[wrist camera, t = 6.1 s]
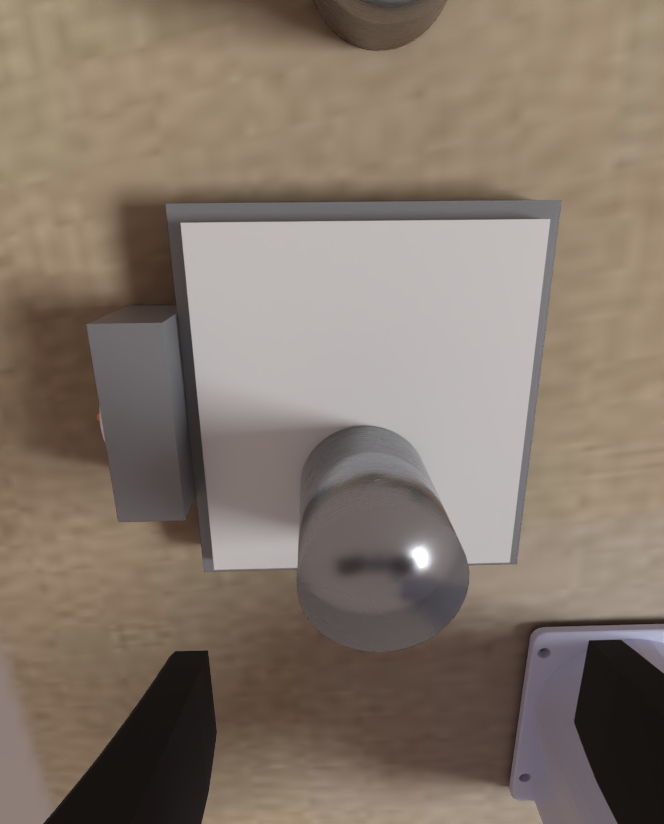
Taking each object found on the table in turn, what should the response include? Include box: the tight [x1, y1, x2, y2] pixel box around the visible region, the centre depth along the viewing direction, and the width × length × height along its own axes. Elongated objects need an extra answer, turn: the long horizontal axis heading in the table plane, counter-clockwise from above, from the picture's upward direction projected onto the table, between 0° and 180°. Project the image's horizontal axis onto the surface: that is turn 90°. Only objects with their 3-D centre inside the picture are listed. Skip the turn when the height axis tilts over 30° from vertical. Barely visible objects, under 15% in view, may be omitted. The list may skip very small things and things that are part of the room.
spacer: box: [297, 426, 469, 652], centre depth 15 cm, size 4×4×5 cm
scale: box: [86, 200, 562, 572], centre depth 17 cm, size 12×13×3 cm
